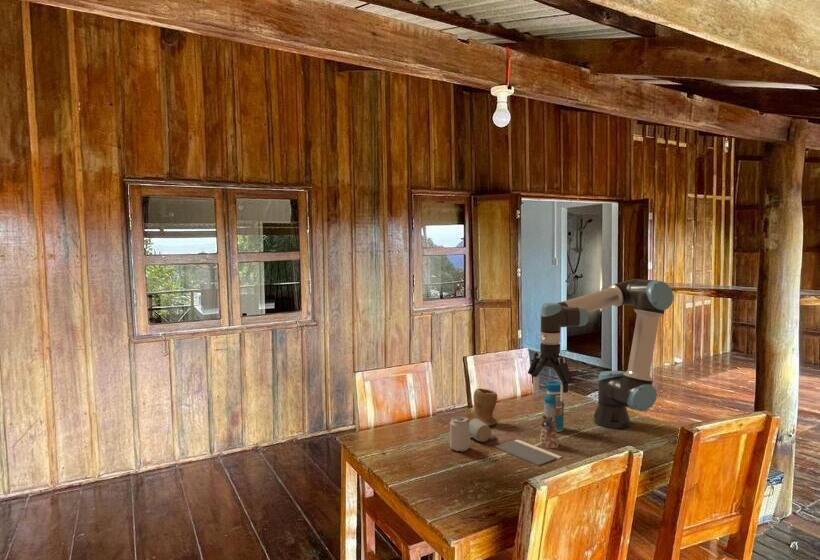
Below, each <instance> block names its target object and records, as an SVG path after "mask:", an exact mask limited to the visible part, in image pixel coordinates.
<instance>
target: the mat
mask: <svg viewBox="0 0 820 560" xmlns="http://www.w3.org/2000/svg"><path fill="white" fill-rule="evenodd" d="M494 448H496V449H498V450H500V451H503V452H505V453H508V454H509V455H512V456H515V457H517V458H519V459H521V460H523V461H526V462H527V463H530V464H533V465H536V466H537V467H540V466H541V465H545V464H547V463H551V462H553V460H554V461H557V460H558V458H555V457H553V456H550V455H548V454H545V453H543V452H540V451H538V450H535V449H533V448H530V447H528V446H525V445H523V444H520V443H518V442H515V441H514V440H510V441H507V442H503V443H500V444H497V445H494ZM550 461H551V462H550Z"/></svg>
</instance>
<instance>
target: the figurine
mask: <svg viewBox="0 0 820 560" xmlns="http://www.w3.org/2000/svg"><path fill="white" fill-rule="evenodd" d="M542 418H543V420H542V421H541V426H542V429H541V431H540V437H539V444H540V446H541V447H542V448H546V449H556V448H558V447H559V437H558V432H556V430H557V426H558V425H557V423H556V420H555V419H554V418H553V417H552V416H551V415H549V416H548V417H546V416H545V415H544V414H543V415H542ZM544 422H545V423H546V424H547V425H544Z"/></svg>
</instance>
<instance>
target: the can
mask: <svg viewBox="0 0 820 560" xmlns="http://www.w3.org/2000/svg"><path fill="white" fill-rule="evenodd" d="M467 420H468V419H467V418H465V417H460V416H454V417H452V418H451V420H450V422H449V447H450V449H453V450H452V451H454V450H455V452H458V451H461V452H467V450H468V449H470V436H469V421H467Z"/></svg>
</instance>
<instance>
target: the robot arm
mask: <svg viewBox="0 0 820 560" xmlns="http://www.w3.org/2000/svg"><path fill="white" fill-rule="evenodd" d="M673 302H674V292H673V290H672V288H671V287H670V285H669V284H668V283H666V282H664V281H662V280H661V281H660V280H658V279H655V280H654V279H641V278H636V279H635V278H633V279H629V280H624V281H621V282H618V283H614V284H611V285H609V286H608V288H605V289H602V290H599V291H595V292H591V293H588V294H584V295H581V296H578V297H574V298H571V299H566V300H564V301H559V302H554V303H553V302H546V303H545V302H544V303H542V304H541V306H540V307H541V308H540V342H541V343H540V344H539V347H540V350H539V351H538V352H534V354H533V359H532V362H531V364H530V366H529V369H528V371H527V374H528V375H531V384H532V394H538V393H540V376H539V374H540V373H541V372H542V371H543V369H544V368H545V367H549V368H552V369H553V370H554V371H555V373H556V375H557V376H558V378H559V380H560V381H561V382H560V383H562V384H561V392H560V401H563V402H565V401H567V396H568V395H567V393H568V392H569V385H570V384H573V383H574V380H573V377H572V374H571V370H570V369H569V366H568V363H567V358H566V357H560V353H561V331H562V330H561V329H562V328H571V327H572V328H573V327H574V328H575V327H584V326H586V325H587V324H588V323H589V314H590V313H591V312H595V311H599V310H602V309H605V308H609V307H612V306H614V307H620V306H633V311H634V312H635V313H636V319H635V323H634V324H635V325H634V330H633V337H632V341H631V350H630V353H629V359H628V360H629V361H628V365H627V366H628V367H627V370H626V371H622V370H604V371H601V372H600V373H598V380H597V382H598V384H597V385H598V386H597V389H598V390H597V395H598V396H597V407H596V410H595V412H594V415H593V422H594V423H595V424H596V425H598V426H601V427H603V428H609V429H610V428H611V429H625V428H628V427H630V426H631V419H630V415H629V412H628V409H627V408H629V409H631V410H634V411H638V412H645V411H648V410H650V408H652V407H653V406H654V405H655V403H656V401H657V397H658V392H657V390H656V388H655V387H654V386H653V382H654V381H653V378H652V376H651V370H652V363H653V358H654V357H653V356H654V351H655V345H656V340H657V333H658V327H659V322H660V318H661V317H663V316H664V315H665V311H666V310H667V309H669V308H670V307H671V306H672V304H673ZM540 360H541V361H540Z"/></svg>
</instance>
